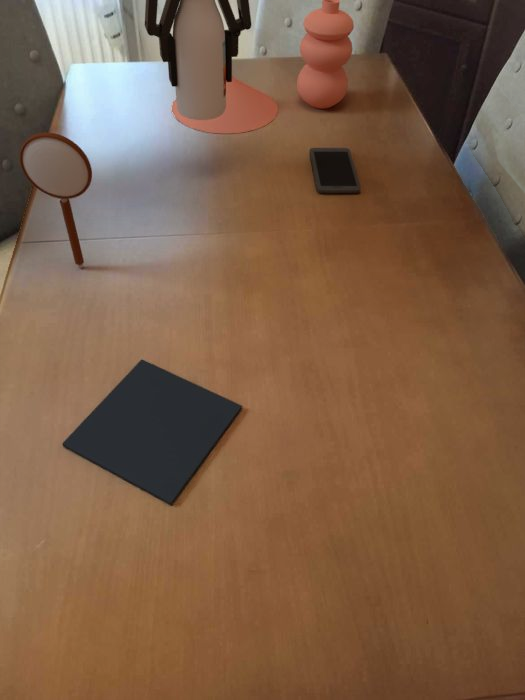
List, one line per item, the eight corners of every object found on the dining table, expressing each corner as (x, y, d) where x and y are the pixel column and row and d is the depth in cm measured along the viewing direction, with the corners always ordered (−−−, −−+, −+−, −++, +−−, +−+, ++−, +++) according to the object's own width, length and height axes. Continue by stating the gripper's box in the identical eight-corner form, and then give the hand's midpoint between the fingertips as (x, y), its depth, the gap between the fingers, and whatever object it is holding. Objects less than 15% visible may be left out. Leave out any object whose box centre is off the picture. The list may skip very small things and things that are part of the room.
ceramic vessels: (175, 136, 110) (166, 26, 96) (168, 86, 124) (159, -16, 110) (358, 126, 115) (374, 20, 101) (331, 80, 129) (342, -19, 115)
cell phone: (348, 151, 108) (349, 147, 107) (361, 194, 99) (361, 190, 98) (308, 151, 108) (308, 147, 107) (317, 194, 98) (317, 190, 98)
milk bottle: (220, 124, 92) (218, -25, 77) (171, 118, 92) (160, -30, 78) (230, 102, 97) (230, -41, 82) (183, 97, 97) (175, -46, 83)
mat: (62, 446, 64) (61, 443, 63) (142, 362, 72) (141, 358, 72) (171, 506, 59) (171, 503, 59) (242, 408, 68) (242, 405, 67)
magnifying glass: (112, 266, 84) (86, 132, 70) (109, 274, 83) (82, 139, 68) (52, 261, 85) (14, 126, 70) (48, 269, 83) (8, 134, 69)
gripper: (113, -97, 70) (136, 96, 86) (281, -99, 74) (272, 85, 91) (106, -111, 75) (129, 75, 91) (264, -112, 79) (258, 65, 96)
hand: (200, 80), depth 91 cm, fingers closed on milk bottle, 8 cm apart
